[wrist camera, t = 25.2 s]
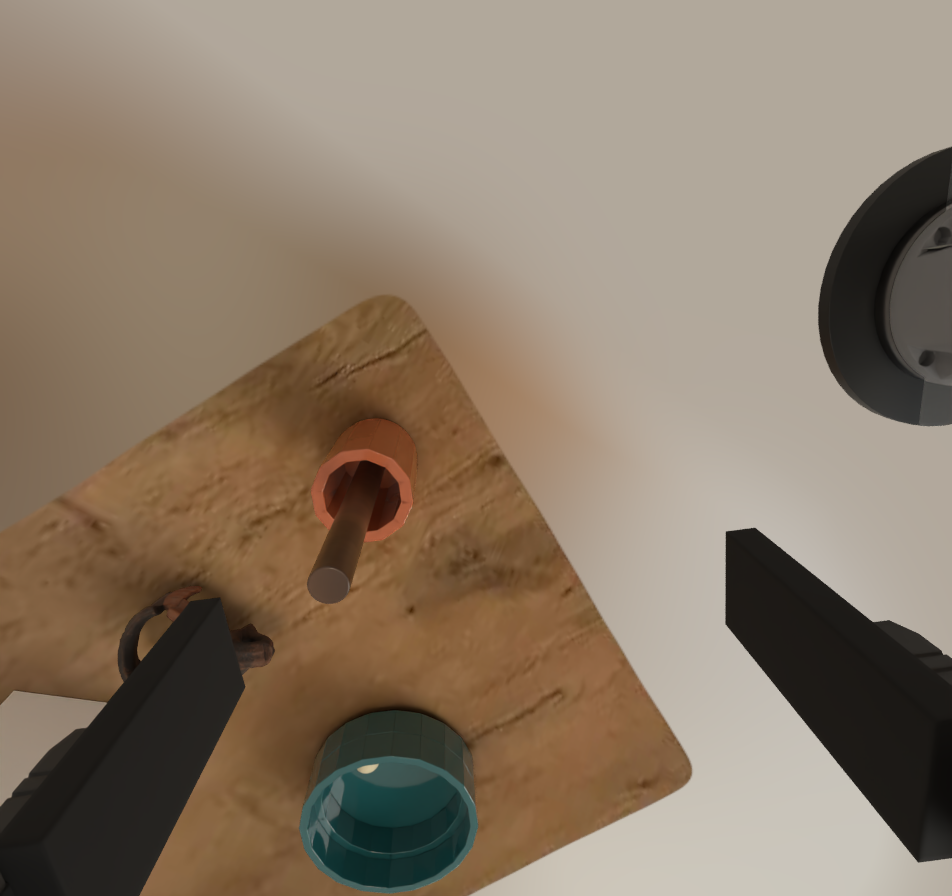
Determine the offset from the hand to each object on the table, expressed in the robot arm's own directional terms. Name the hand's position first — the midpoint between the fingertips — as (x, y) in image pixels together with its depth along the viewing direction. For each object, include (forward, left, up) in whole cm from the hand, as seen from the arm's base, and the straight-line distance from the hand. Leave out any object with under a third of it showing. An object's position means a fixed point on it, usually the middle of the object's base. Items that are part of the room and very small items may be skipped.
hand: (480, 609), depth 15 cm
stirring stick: (+7, +5, -31) cm, 32 cm away
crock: (+7, +5, -32) cm, 33 cm away
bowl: (+10, +37, -32) cm, 50 cm away
